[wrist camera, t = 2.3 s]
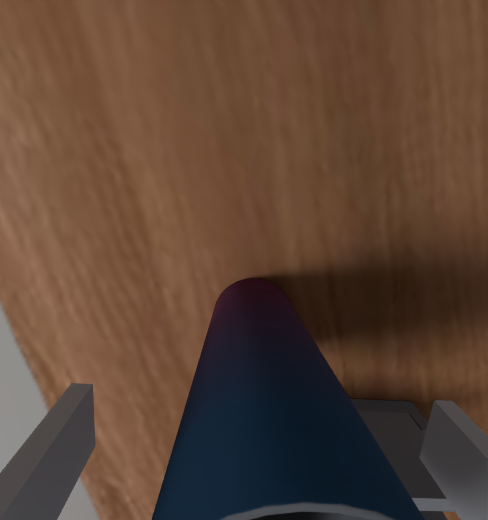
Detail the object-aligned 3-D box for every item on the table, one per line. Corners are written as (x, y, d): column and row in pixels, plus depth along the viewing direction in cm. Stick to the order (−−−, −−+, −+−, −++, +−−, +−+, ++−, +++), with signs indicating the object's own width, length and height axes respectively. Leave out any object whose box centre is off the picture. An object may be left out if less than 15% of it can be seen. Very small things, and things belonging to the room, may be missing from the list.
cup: (321, 287, 20) (534, 560, 6) (278, 373, 22) (365, 756, 8) (222, 248, 20) (191, 458, 5) (185, 341, 21) (80, 702, 7)
